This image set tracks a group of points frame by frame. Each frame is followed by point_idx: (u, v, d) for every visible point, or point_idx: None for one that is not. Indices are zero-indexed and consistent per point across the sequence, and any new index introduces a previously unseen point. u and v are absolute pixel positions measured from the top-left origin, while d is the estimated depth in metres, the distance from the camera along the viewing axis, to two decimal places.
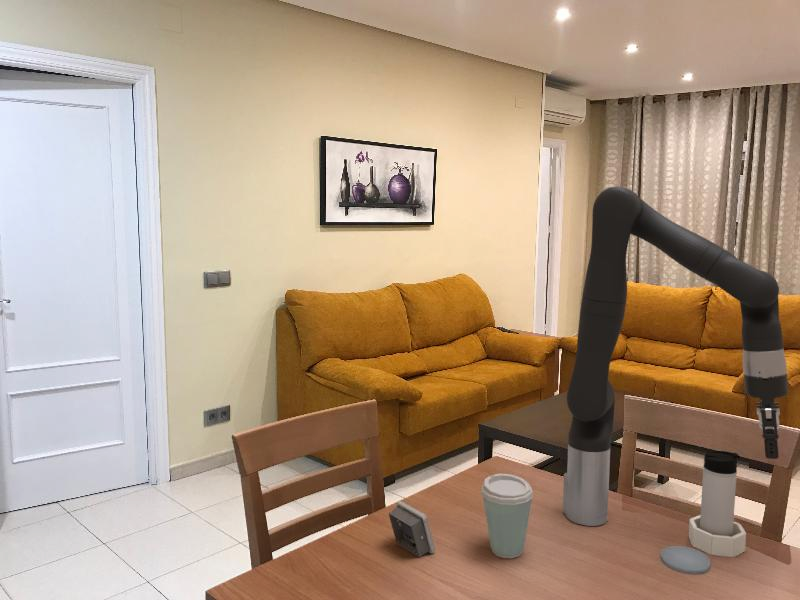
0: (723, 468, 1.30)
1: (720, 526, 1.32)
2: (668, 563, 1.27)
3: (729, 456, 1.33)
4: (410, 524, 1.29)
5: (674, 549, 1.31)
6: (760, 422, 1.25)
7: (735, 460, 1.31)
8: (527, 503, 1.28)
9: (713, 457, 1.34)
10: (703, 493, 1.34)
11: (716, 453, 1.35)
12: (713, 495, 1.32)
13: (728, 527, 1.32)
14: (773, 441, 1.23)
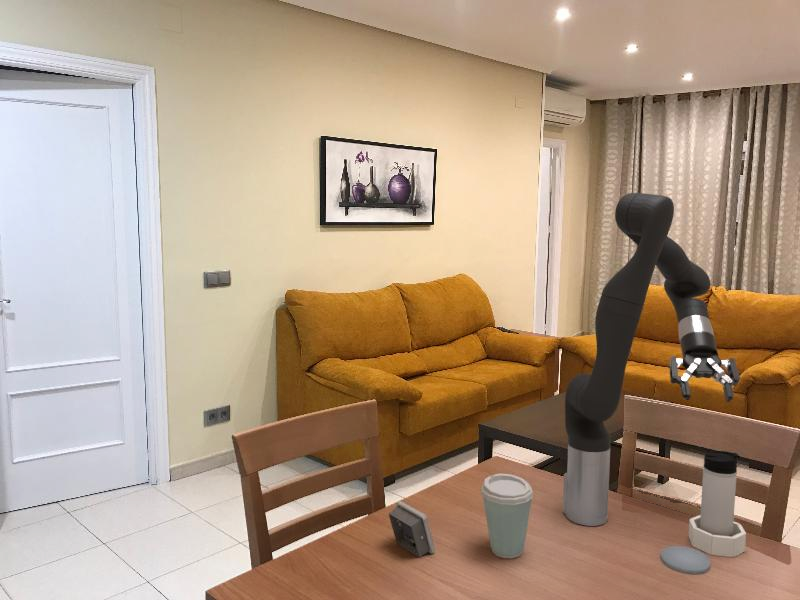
0: (723, 468, 1.30)
1: (720, 526, 1.32)
2: (668, 563, 1.27)
3: (729, 456, 1.33)
4: (410, 524, 1.29)
5: (674, 549, 1.31)
6: None
7: (735, 460, 1.31)
8: (527, 503, 1.28)
9: (713, 457, 1.34)
10: (703, 493, 1.34)
11: (716, 453, 1.35)
12: (713, 495, 1.32)
13: (728, 527, 1.32)
14: None
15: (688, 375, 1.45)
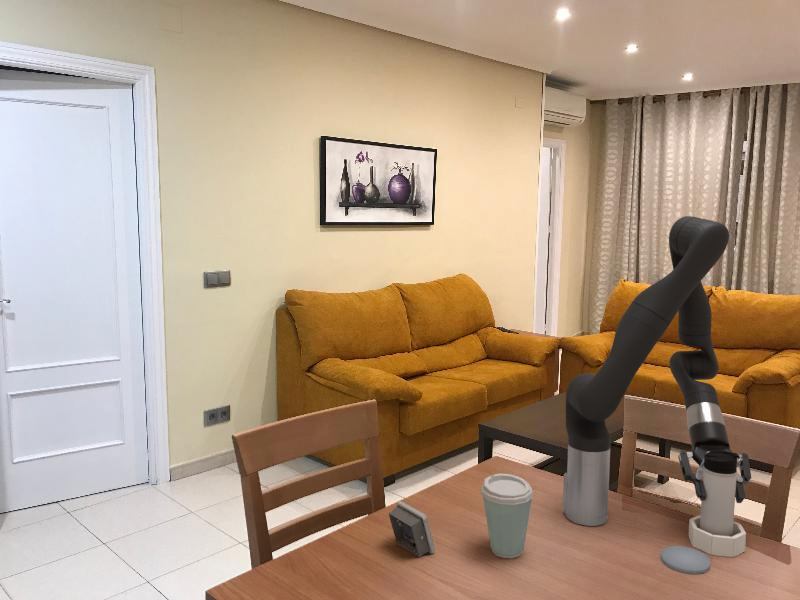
0: (723, 468, 1.30)
1: (720, 526, 1.32)
2: (668, 563, 1.27)
3: (729, 456, 1.33)
4: (410, 524, 1.29)
5: (674, 549, 1.31)
6: None
7: (735, 460, 1.31)
8: (527, 503, 1.28)
9: (713, 457, 1.34)
10: None
11: (716, 453, 1.35)
12: (713, 495, 1.32)
13: (728, 527, 1.32)
14: None
15: (702, 472, 1.35)
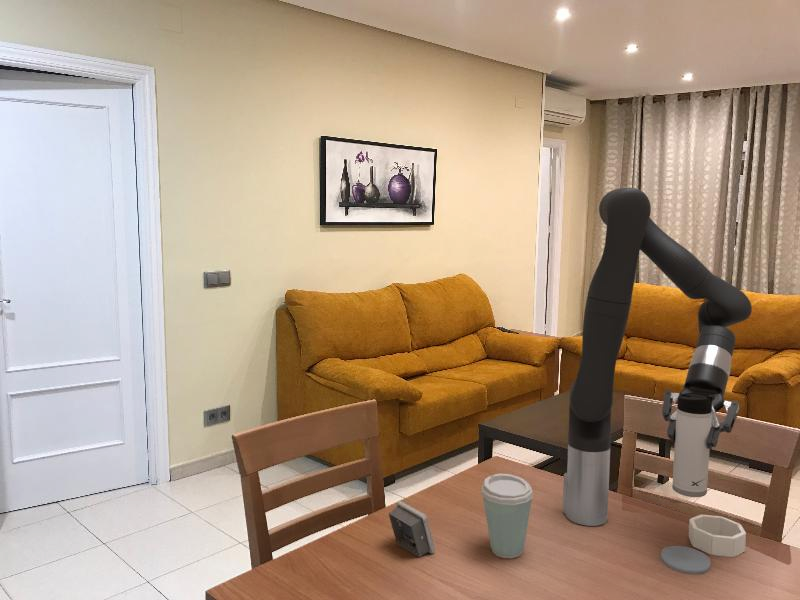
0: (688, 407, 1.22)
1: (685, 469, 1.24)
2: (668, 563, 1.27)
3: (706, 398, 1.24)
4: (410, 524, 1.29)
5: (674, 549, 1.31)
6: (714, 411, 1.24)
7: (704, 400, 1.21)
8: (527, 503, 1.28)
9: (688, 397, 1.25)
10: None
11: (697, 394, 1.26)
12: (679, 435, 1.24)
13: (694, 471, 1.23)
14: (719, 433, 1.23)
15: None
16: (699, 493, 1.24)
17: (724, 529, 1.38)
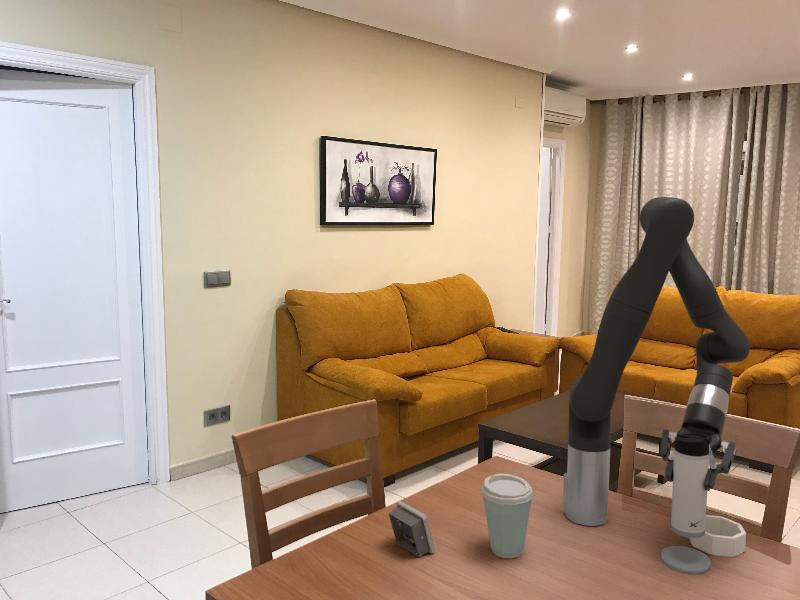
0: (685, 449, 1.23)
1: (683, 510, 1.25)
2: (668, 563, 1.27)
3: (703, 439, 1.24)
4: (410, 524, 1.29)
5: (674, 549, 1.31)
6: (712, 452, 1.25)
7: (700, 442, 1.22)
8: (527, 503, 1.28)
9: (686, 438, 1.26)
10: None
11: (694, 435, 1.27)
12: (677, 476, 1.25)
13: (692, 513, 1.24)
14: None
15: None
16: (697, 534, 1.25)
17: (724, 529, 1.38)
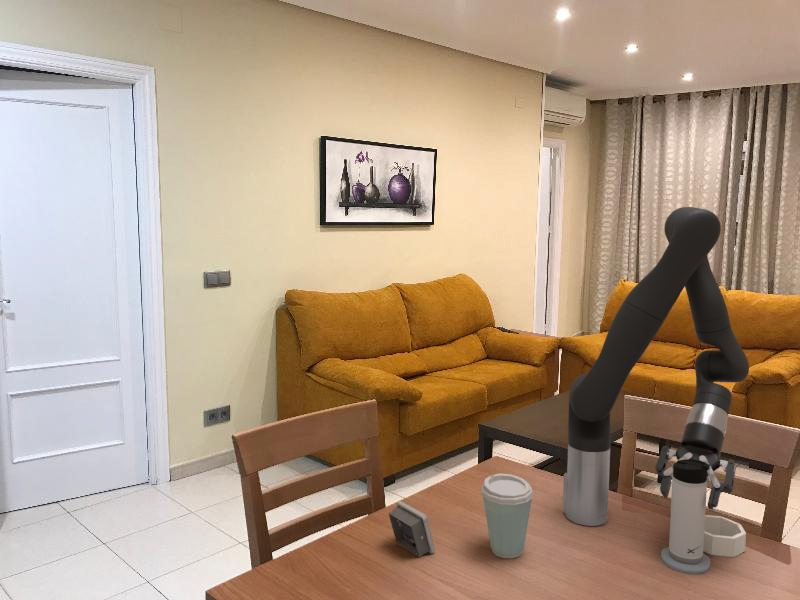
0: (683, 476, 1.24)
1: (680, 537, 1.25)
2: (668, 563, 1.27)
3: (701, 466, 1.25)
4: (410, 524, 1.29)
5: None
6: (713, 471, 1.26)
7: (698, 470, 1.23)
8: (527, 503, 1.28)
9: (684, 464, 1.27)
10: None
11: (692, 462, 1.28)
12: (675, 503, 1.26)
13: (689, 539, 1.25)
14: (720, 493, 1.24)
15: (672, 470, 1.30)
16: (695, 560, 1.25)
17: (724, 529, 1.38)
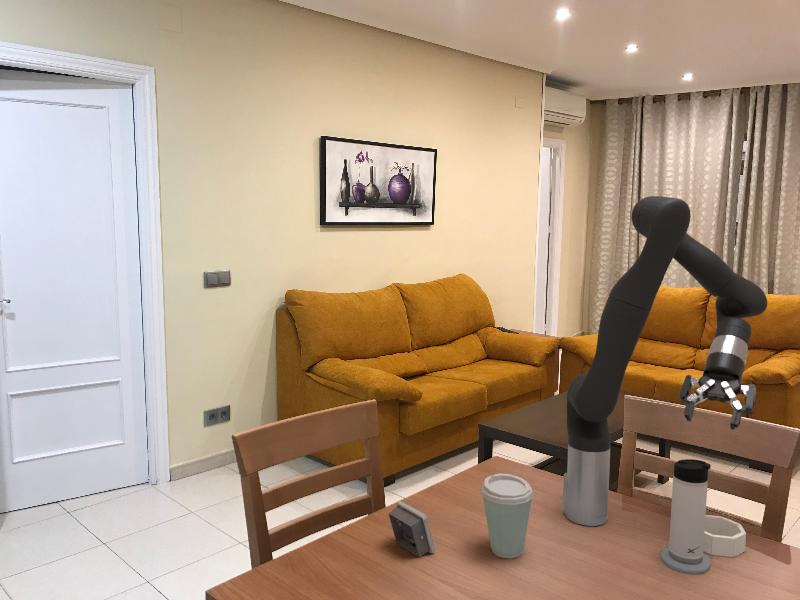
0: (684, 476, 1.24)
1: (681, 536, 1.26)
2: (668, 563, 1.27)
3: (702, 466, 1.25)
4: (410, 524, 1.29)
5: None
6: None
7: (699, 469, 1.23)
8: (527, 503, 1.28)
9: (685, 464, 1.27)
10: None
11: (693, 461, 1.28)
12: (675, 502, 1.26)
13: (690, 539, 1.25)
14: (741, 414, 1.32)
15: (696, 396, 1.38)
16: (695, 560, 1.25)
17: (724, 529, 1.38)
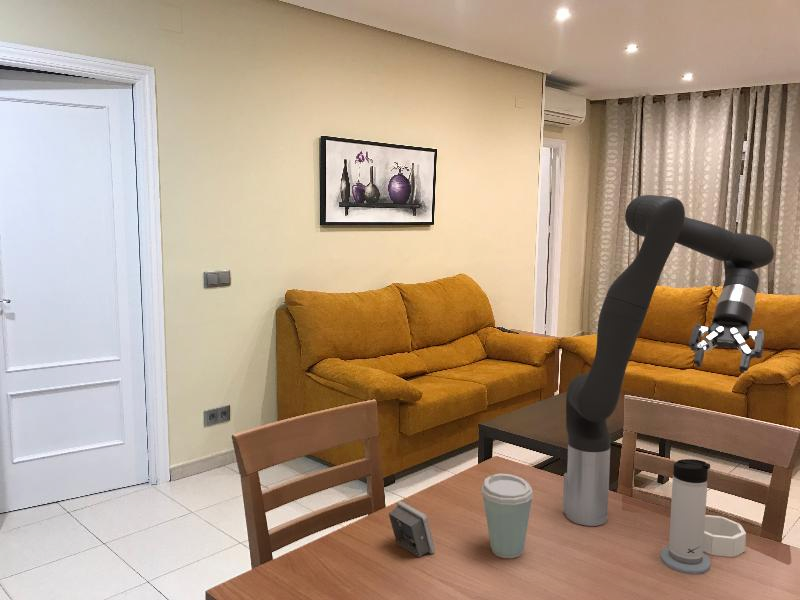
0: (684, 476, 1.24)
1: (681, 536, 1.26)
2: (668, 563, 1.27)
3: (702, 466, 1.25)
4: (410, 524, 1.29)
5: None
6: None
7: (699, 469, 1.23)
8: (527, 503, 1.28)
9: (684, 464, 1.27)
10: None
11: (693, 461, 1.28)
12: (675, 502, 1.26)
13: (690, 539, 1.25)
14: (750, 358, 1.36)
15: (705, 342, 1.41)
16: (695, 560, 1.25)
17: (724, 529, 1.38)
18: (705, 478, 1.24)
